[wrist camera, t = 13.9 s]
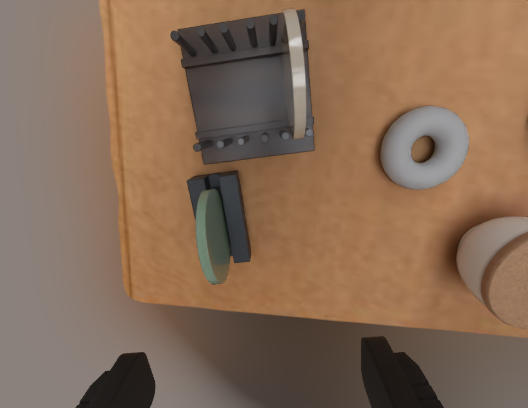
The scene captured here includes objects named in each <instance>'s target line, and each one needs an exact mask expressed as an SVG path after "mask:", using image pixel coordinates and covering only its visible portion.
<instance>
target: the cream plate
mask: <svg viewBox="0 0 528 408" xmlns="http://www.w3.org/2000/svg"><path fill="white" fill-rule="evenodd" d="M280 32H281V56H282V70H283V82H284V92H285V102H286V110H287V117H288V124H289V129H290V134H291V137H292V139H293V140H296V139H303V138H304V135H305V129H306V79H305V65H304V54H303V44H302V37H301V30H300V24H299V19H298V15H297V12H296V10H295V9H294V8H291V9H285V10H282V11H281V21H280Z"/></svg>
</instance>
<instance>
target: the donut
mask: <svg viewBox="0 0 528 408" xmlns="http://www.w3.org/2000/svg"><path fill="white" fill-rule="evenodd" d="M425 135H426V136H430V137H431V138H432V139H433V140H434V142H435V150H434V153H433V155H432V156H431V158H430V159H428V160H427V161H425V162H423V163H416V162H415V161H414V160H413V159H412V157H411V148H412V145H413V144H414V142H415V141H416V140H417V139H418V138H420V137H422V136H425ZM468 146H469V135H468V132H467V129H466V125H465V124H464V123H463V121H462V120H461V119H460V118H459V116H458V115H457V114H455V113H454V112H452V111H450V110H448V109H447V108H442V107H436V106H425V107H420V108H415V109H413V110H411V111H409V112H407V113H405V114H403V115H402V116H401V117H399V118H398V119H397V120H396V121H395V122H394V123H393V124H392V125H391V126H390V128H389V130H388V131H387V133H386V134H385V136H384V139H383V142H382V146H381V163H382V166H383V168H384V171H385V173H386V174H387V175H388V176H389V177H390V178H391V180H392V181H393V182H394V183H396V184H398V185H400V186H402V187H404V188H409V189H416V190H422V189H428V188H433V187H435V186H437V185H439V184H441V183H444V182H446V181H447V180H448V179H449V178H450V177H452V176H453V175H454V174H455V173H456V172H457V171H458V169H459V168H460V167H461V165H462V164H463V163H464V160H465V157H466V155H467V152H468Z"/></svg>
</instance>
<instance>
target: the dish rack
mask: <svg viewBox="0 0 528 408" xmlns="http://www.w3.org/2000/svg"><path fill="white" fill-rule="evenodd" d="M296 12H297V15H298V19H299V24H300V30H301V37H302V44H303V54H304V65H305V79H306V129H305V135H304V138H303V139H296V140H293V139H292V137H291V134H290V129H289V124H288V117H287V110H286V102H285V92H284V82H283V70H282V56H281V32H280V21H281V13H277V14H271V15H265V16H259V17H252V18H246V19H240V20H234V21H227V22H221V23H215V24H208V25H202V26H196V27H190V28H183V29H178V32H177V31H172V32H171V35H170V36H171V39H172V40H173V41H175V42H176V43H177V44H178V45H179V46H180V47H181V50H182V55H183V59H181V63H182V67H183V68H184V69H185V71H186V76H187V81H188V86H189V91H190V96H191V101H192V106H193V112H194V117H195V122H196V127H197V132H196V133H195V134H196V139H199V142H200V143H196V144H194V146H193V148H194V150H195V151H197V152H198V151H201V152H202V157H203V162H204V164H213V163H220V162H228V161H236V160H244V159H252V158H260V157H268V156H275V155H283V154H291V153H299V152H307V151H314V136H313V133H314V132H313V124H314V117H312V107H311V93H310V79H309V65H308V49H309V43H308V40H307V36H306V22H305V10H304V9H303V10H296Z"/></svg>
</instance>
